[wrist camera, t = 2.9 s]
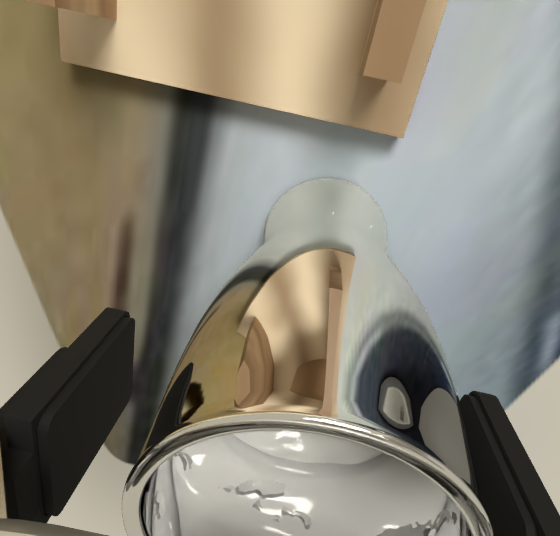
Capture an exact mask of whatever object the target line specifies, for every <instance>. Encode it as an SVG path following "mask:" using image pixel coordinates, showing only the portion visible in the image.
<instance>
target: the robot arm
mask: <svg viewBox="0 0 560 536" xmlns="http://www.w3.org/2000/svg"><path fill="white" fill-rule="evenodd" d="M134 334H135V320H134V319H133V318H130V315H129V312H127V311H122V310H118V309H114V308H106V309H105V310H104V311H103V312H102V313H101V314H100V315H99V316H98V317H97V318H96V319H95V320H94V321H93V322H92V323H91V324H90V325H89V326H88V327H87V328H86V330H85V331H84V332H83V333H82V334H81V335H80V336H79V337H78V338H77V339H76V340H75V341H74V342H73V343H72V344H71V345H70V346H69V347H68V348H67V347H63V348H60V349H59V350H58V351H57V352H56V353H55V354H54V355H53V356H52V357H51V358H50V359H49V360H48V361H47V362H46V363H45V364H44V365H43V366H42V367H41V368H40V369H39V370H38V371H37V372H36V373H35V374H34V375H33V376H32V377H31V378H30V379H29V380H28V381H27V382H26V383H25V384H24V385H23V386H22V387H21V388H20V389H19V390H18V391H17V392H16V393H15V394H14V395H13V396H12V397H11V398H10V399H9V400H8V401H7V403H5V404H4V406H3V407H1V408H0V536H107V535H102V534H98V533H92V532H88V531H83V530H78V529H74V528H69V527H64V526H58V525H53V524H47V522H48V520H49V518H50V517H51V515H53V516H58V515H59V514H60V513H61V511H62V510H63V508H64V507H65V505H66V503H67V502H68V500H69V499H70V497H71V495H72V493H73V492H74V490H75V489H76V487H77V485H78V484H79V482H80V481H81V479H82V477H83V476H84V474H85V472H86V470H87V469H88V467H89V466H90V464H91V462H92V460H93V459H94V457H95V456H96V454H97V453H98V451H99V449H100V448H101V446H102V444H103V443H104V441H105V440H106V438H107V436H108V435H109V433H110V431H111V430H112V428H113V426H114V425H115V423H116V422H117V420H118V418H119V417H120V415H121V413H122V412H123V410H124V408H125V407H126V405H127V403H128V402H129V399H130V396H131V393H132V378H133V356H134ZM460 405H461V409H462V413H463V417H464V421H465V425H466V429H467V433H468V437H469V441H470V446H471V450H472V455H473V459H474V464H475V469H476V473H477V478H478V482H479V486H480V490H481V494H482V498H483V502H484V506H485V509H486V512H487V515H488V517H489V519H490V522H491V524H492V527H493V531H494V535H495V536H560V515H559V513H558V512H557V510H556V508H555V506H554V504H553V502H552V500H551V499H550V496H549V495H548V493H547V491H546V489H545V487H544V485H543V483H542V481H541V479H540V477H539V476H538V474H537V472H536V470H535V468H534V466H533V464H532V462H531V460H530V459H529V457H528V455H527V453H526V451H525V449H524V447H523V445H522V444H521V442H520V440H519V438H518V436H517V434H516V432H515V430H514V428H513V426H512V425H511V423H510V421H509V419H508V417H507V415H506V413H505V411H504V409H503V407H502V406H501V404H500V402H499V400H498V398H497V397H496V396H494V395H490V394H486V393H481V392H477V391H472V392H470V393H469V395H464V396H463V397H462V398H461V400H460Z"/></svg>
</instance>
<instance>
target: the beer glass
mask: <svg viewBox="0 0 560 536" xmlns="http://www.w3.org/2000/svg"><path fill="white" fill-rule="evenodd" d="M387 244H388V229H387V223H386V220H385V217H384V214H383V212H382V210H381V208H380V206H379V205H378V203H377V202H376V201H375V200H374V198H373V197H372V196H371V195H370V194H368V193H367V192H366V191H365V190H363V189H362V188H360V187H359V186H357V185H355V184H353V183H350V182H348V181H345V180H341V179H335V178H318V179H312V180H309V181H305V182H303V183H300V184H298V185H296V186H294V187H292V188H291V189H289V190H288V191H287V192H285V193H284V194H283V195H282V196H281V197H280V198H279V199H278V201H277V202H276V203H275V205H274V206H273V208H272V210H271V212H270V214H269V216H268V219H267V223H266V227H265V243H264V244H263V245H262V246H261V247H260V248H259V249H258V250H257V251H256V252H255V253H254V254H252V255H251V256H250V257H249V258H248V259H247V260H246V261H245V262H244V263H243V264H242V265H241V266H240V267H239V268H238V269H237V270H236V272H235V273H234V274H233V275H232V276H231V278H230V279H229V280H228V281H227V282H226V283H225V285H224V286H223V287H222V288H221V289H220V290H219V292H218V293H217V294H216V296H215V297H214V299H213V301H212V302H211V304H210V305H209V307H208V309H207V310H206V312H205V313H204V315H203V317H202V318H201V320H200V322H199V323H198V325H197V327H196V328H195V330H194V332H193V334H192V336H191V338H190V340H189V342H188V344H187V346H186V348H185V350H184V352H183V354H182V357H181V359H180V361H179V363H178V365H177V367H176V369H175V372H174V374H173V376H172V379H171V381H170V383H169V386H168V388H167V390H166V393H165V395H164V397H163V400H162V402H161V405H160V407H159V410H158V412H157V415H156V417H155V420H154V422H153V425H152V427H151V430H150V432H149V435H148V437H147V440H146V442H145V444H144V447H143V449H142V451H141V454H140V456H139V458H138V460H137V462H136V464H135V465H134V467H133V469H132V470H131V472H130V474H129V476H128V478H127V481H126V484H125V487H124V491H123V497H122V516H123V522H124V526H125V530H126V533H127V535H128V536H495V535H494V531H493V527H492V524H491V522H490V519H489V517H488V515H487V512H486V509H485V506H484V502H483V498H482V494H481V490H480V486H479V482H478V478H477V473H476V469H475V464H474V459H473V455H472V450H471V446H470V441H469V437H468V433H467V429H466V425H465V421H464V417H463V413H462V409H461V405H460V401H459V398H458V394H457V391H456V388H455V384H454V381H453V378H452V375H451V372H450V369H449V365H448V362H447V359H446V356H445V353H444V351H443V348H442V346H441V343H440V341H439V339H438V336H437V334H436V332H435V329H434V327H433V324H432V322H431V320H430V317H429V315H428V313H427V312H426V310H425V308H424V306H423V305H422V303H421V302H420V300H419V298H418V297H417V295H416V293H415V292H414V290H413V288H412V287H411V285H410V284H409V282H408V281H407V279H406V278H405V277H404V275H403V274H402V273H401V272H400V270H399V269H398V268H397V266H396V265H395V264H394V262H393V261H392V260H391V259H390V257H389V256H388V255H387V254H386V251H387Z"/></svg>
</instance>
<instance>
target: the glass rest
mask: <svg viewBox="0 0 560 536" xmlns="http://www.w3.org/2000/svg"><path fill="white" fill-rule="evenodd" d="M25 1H30V2H34V3H39V4H43V5H48V6H52V7H57V8H58V20H59V39H60V58H61V61H63V62H67V63H72V64H76V65H80V66H85V67H89V68H94V69H98V70H103V71H107V72H111V73H116V74H120V75H125V76H129V77H134V78H138V79H143V80H147V81H151V82H156V83H160V84H165V85H169V86H174V87H178V88H182V89H187V90H191V91H196V92H200V93H205V94H209V95H214V96H218V97H222V98H227V99H231V100H236V101H240V102H245V103H249V104H253V105H258V106H262V107H267V108H271V109H276V110H280V111H284V112H289V113H293V114H298V115H302V116H307V117H311V118H316V119H320V120H324V121H329V122H333V123H338V124H342V125H347V126H351V127H355V128H360V129H364V130H369V131H373V132H378V133H382V134H387V135H391V136H395V137H400V138H403V137H404V134H405V131H406V128H407V125H408V122H409V119H410V116H411V113H412V109H413V106H414V103H415V100H416V97H417V94H418V91H419V88H420V85H421V82H422V79H423V76H424V73H425V70H426V67H427V64H428V60H429V57H430V54H431V51H432V48H433V45H434V42H435V39H436V36H437V33H438V30H439V27H440V24H441V21H442V18H443V15H444V12H445V8H446V5H447V2H448V0H25Z"/></svg>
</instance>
